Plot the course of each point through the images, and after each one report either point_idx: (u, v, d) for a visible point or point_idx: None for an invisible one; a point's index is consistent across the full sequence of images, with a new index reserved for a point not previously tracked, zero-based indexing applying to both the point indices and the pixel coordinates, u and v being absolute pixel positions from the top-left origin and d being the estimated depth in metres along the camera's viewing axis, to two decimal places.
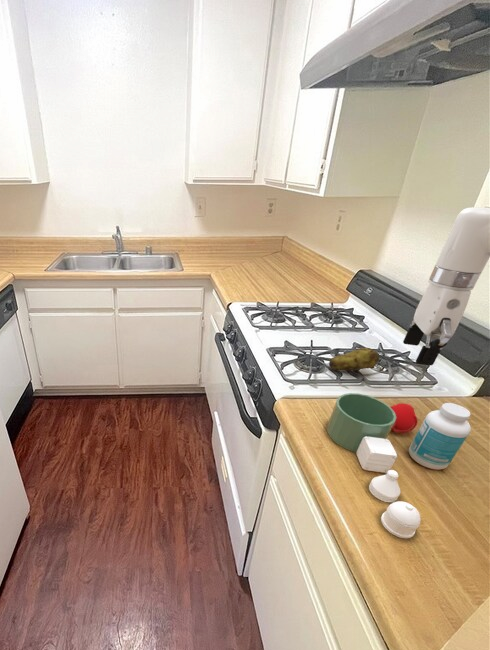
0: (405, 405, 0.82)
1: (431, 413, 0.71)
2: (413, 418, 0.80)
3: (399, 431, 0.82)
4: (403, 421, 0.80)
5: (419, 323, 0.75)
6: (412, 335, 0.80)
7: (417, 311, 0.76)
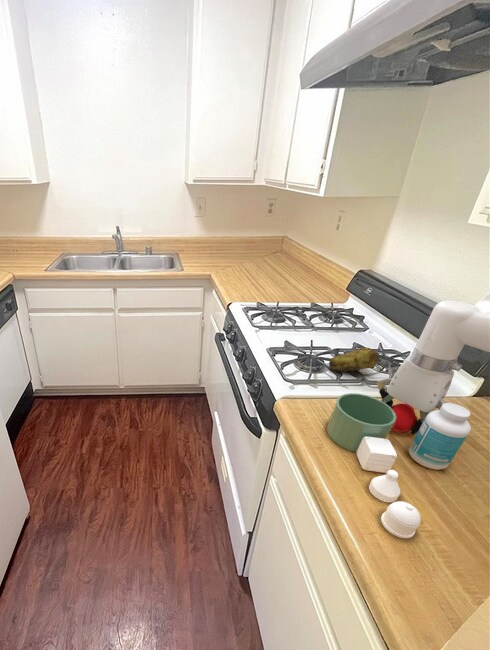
0: (405, 405, 0.82)
1: (431, 413, 0.71)
2: (413, 418, 0.80)
3: (399, 431, 0.82)
4: (403, 421, 0.80)
5: (407, 401, 0.79)
6: None
7: (396, 388, 0.80)
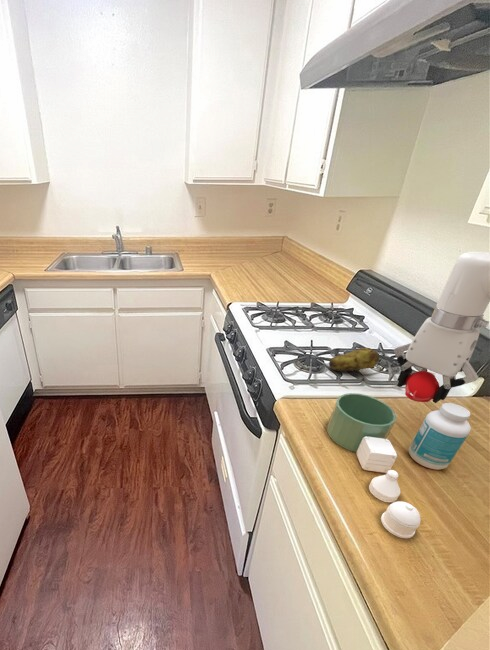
0: (426, 372, 0.76)
1: (431, 413, 0.71)
2: (435, 385, 0.74)
3: (420, 400, 0.76)
4: (424, 388, 0.74)
5: (428, 366, 0.73)
6: (405, 377, 0.79)
7: (415, 353, 0.74)
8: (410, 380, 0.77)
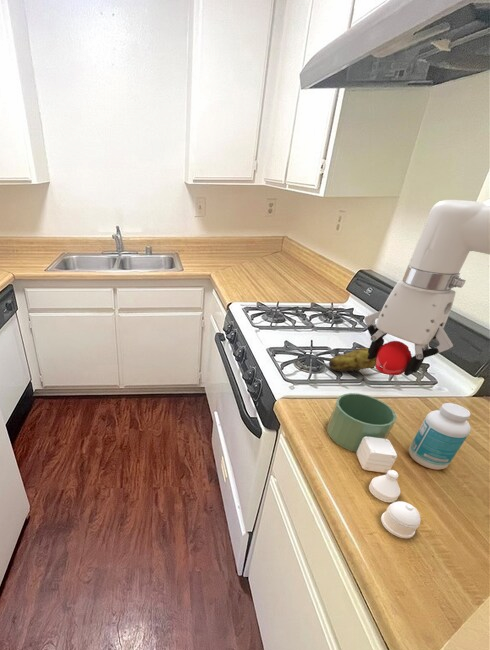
0: (398, 342, 0.69)
1: (431, 413, 0.71)
2: (407, 355, 0.67)
3: (391, 372, 0.69)
4: (395, 359, 0.67)
5: (400, 333, 0.66)
6: (376, 349, 0.72)
7: (386, 319, 0.67)
8: (381, 351, 0.70)
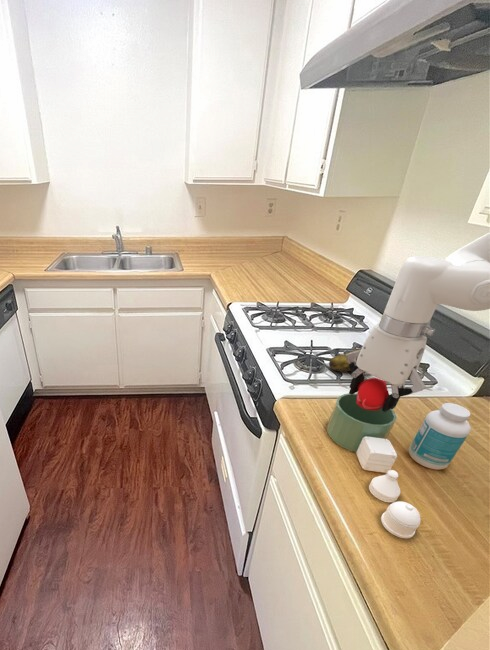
0: (376, 379, 0.74)
1: (431, 413, 0.71)
2: (385, 393, 0.72)
3: (370, 408, 0.74)
4: (373, 396, 0.72)
5: (377, 373, 0.70)
6: (357, 384, 0.77)
7: (365, 360, 0.72)
8: (360, 387, 0.74)
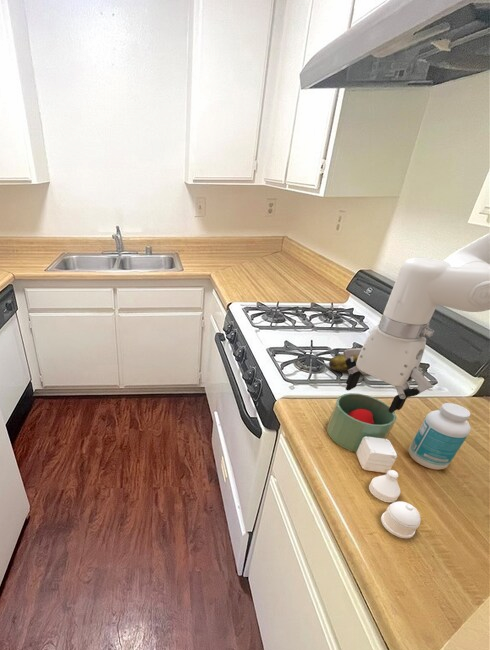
0: (363, 411, 0.79)
1: (431, 413, 0.71)
2: None
3: None
4: None
5: (377, 374, 0.71)
6: (354, 381, 0.77)
7: (365, 361, 0.72)
8: None
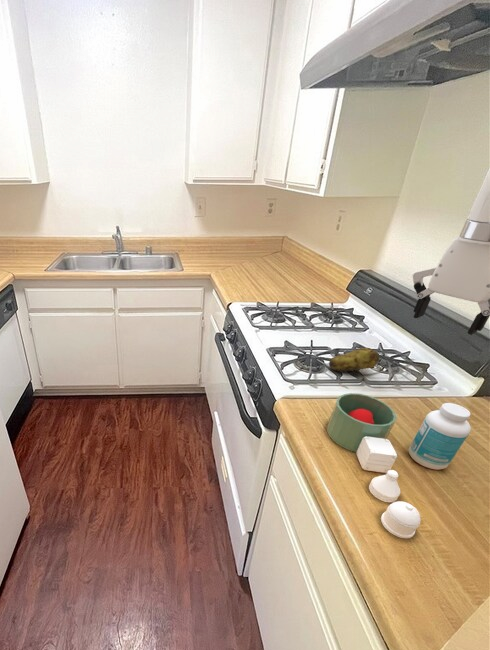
0: (363, 411, 0.79)
1: (431, 413, 0.71)
2: None
3: None
4: None
5: (456, 292, 0.65)
6: (423, 306, 0.71)
7: (441, 279, 0.66)
8: None
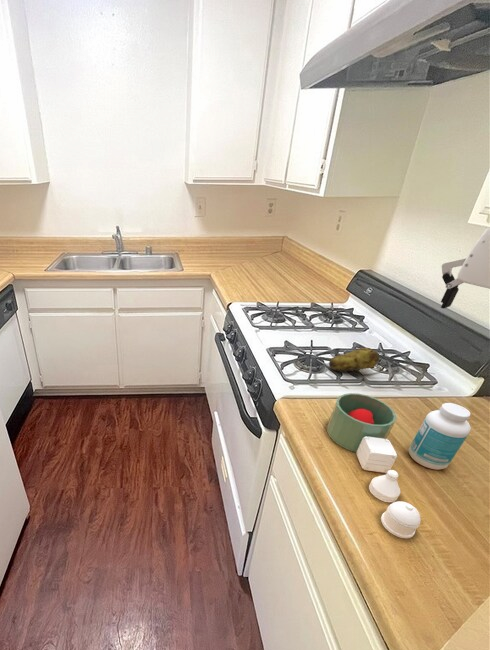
0: (363, 411, 0.79)
1: (431, 413, 0.71)
2: None
3: None
4: None
5: (486, 282, 0.66)
6: (451, 297, 0.72)
7: (471, 269, 0.67)
8: None
